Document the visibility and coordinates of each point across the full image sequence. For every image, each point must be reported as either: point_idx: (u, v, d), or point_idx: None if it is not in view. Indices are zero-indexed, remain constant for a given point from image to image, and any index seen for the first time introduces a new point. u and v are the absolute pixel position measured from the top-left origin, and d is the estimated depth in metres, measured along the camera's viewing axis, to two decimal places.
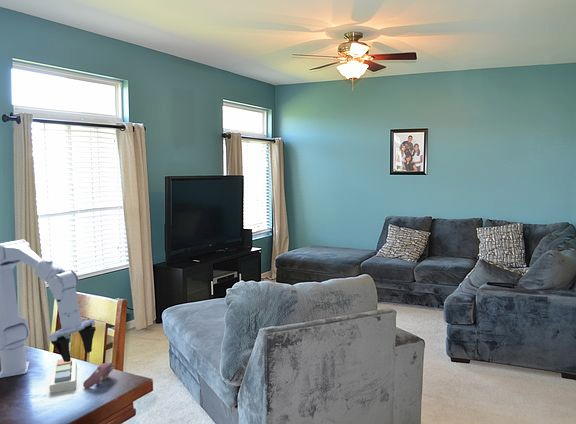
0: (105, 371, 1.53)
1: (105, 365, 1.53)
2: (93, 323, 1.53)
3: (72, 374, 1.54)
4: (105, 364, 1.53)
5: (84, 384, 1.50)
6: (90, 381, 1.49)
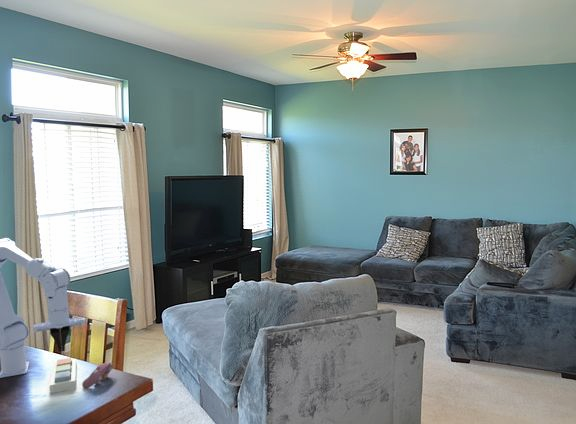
0: (104, 371, 1.53)
1: (104, 365, 1.53)
2: (82, 323, 1.56)
3: (72, 374, 1.54)
4: (104, 364, 1.53)
5: (83, 384, 1.50)
6: (89, 381, 1.49)
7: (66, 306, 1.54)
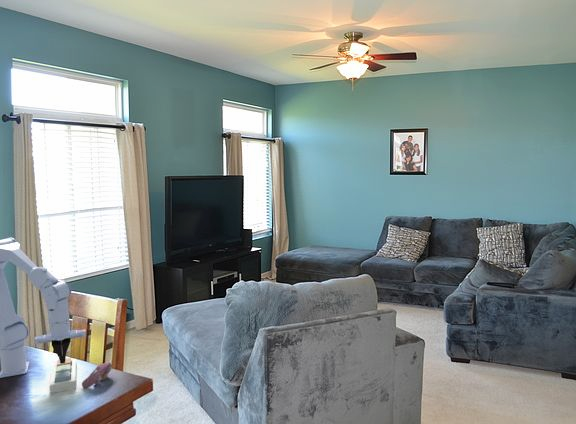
0: (104, 371, 1.53)
1: (104, 365, 1.53)
2: (83, 335, 1.57)
3: (72, 374, 1.54)
4: (104, 364, 1.53)
5: (83, 384, 1.50)
6: (88, 381, 1.49)
7: (67, 318, 1.54)
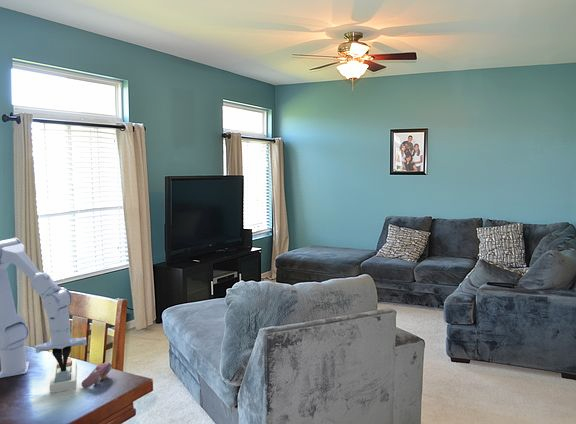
0: (103, 371, 1.53)
1: (103, 365, 1.53)
2: (84, 343, 1.57)
3: (72, 374, 1.54)
4: (103, 364, 1.53)
5: (82, 384, 1.50)
6: (88, 381, 1.49)
7: (68, 326, 1.54)
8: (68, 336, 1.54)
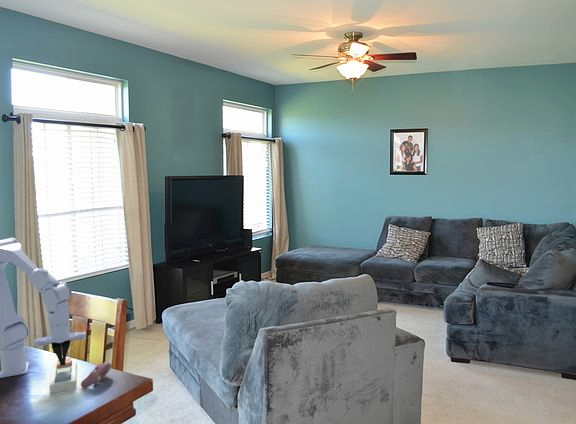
0: (103, 371, 1.53)
1: (103, 365, 1.53)
2: (83, 337, 1.57)
3: (72, 374, 1.54)
4: (103, 364, 1.53)
5: (82, 384, 1.50)
6: (88, 381, 1.49)
7: (67, 320, 1.54)
8: (67, 330, 1.54)
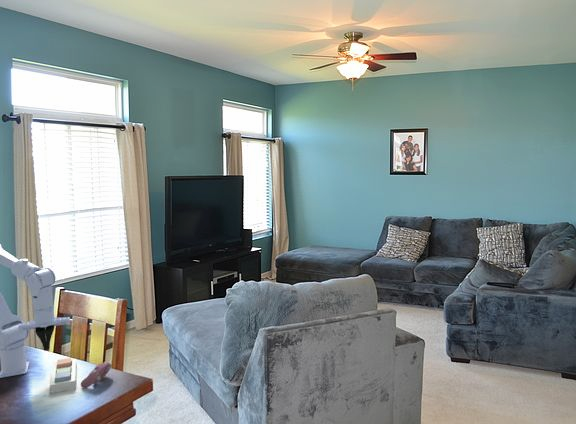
0: (102, 371, 1.53)
1: (102, 365, 1.53)
2: (67, 322, 1.58)
3: (72, 374, 1.54)
4: (102, 364, 1.53)
5: (81, 384, 1.50)
6: (87, 381, 1.49)
7: (51, 305, 1.55)
8: (51, 315, 1.55)
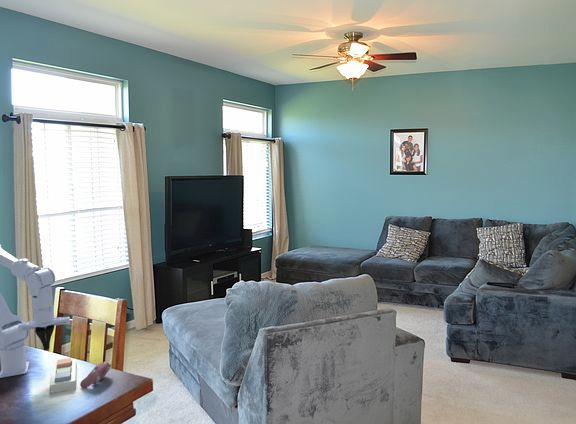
0: (102, 371, 1.53)
1: (102, 365, 1.53)
2: (67, 322, 1.58)
3: (72, 374, 1.54)
4: (102, 364, 1.53)
5: (81, 384, 1.50)
6: (87, 381, 1.49)
7: (51, 305, 1.55)
8: (51, 315, 1.55)
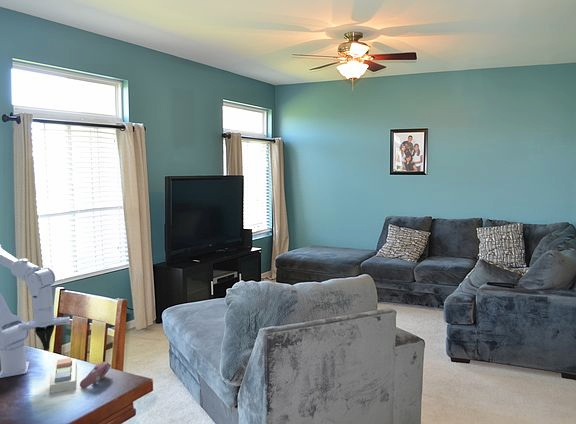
0: (102, 371, 1.53)
1: (102, 365, 1.53)
2: (67, 322, 1.58)
3: (72, 374, 1.54)
4: (102, 364, 1.53)
5: (81, 384, 1.50)
6: (86, 381, 1.49)
7: (51, 305, 1.55)
8: (51, 315, 1.55)
